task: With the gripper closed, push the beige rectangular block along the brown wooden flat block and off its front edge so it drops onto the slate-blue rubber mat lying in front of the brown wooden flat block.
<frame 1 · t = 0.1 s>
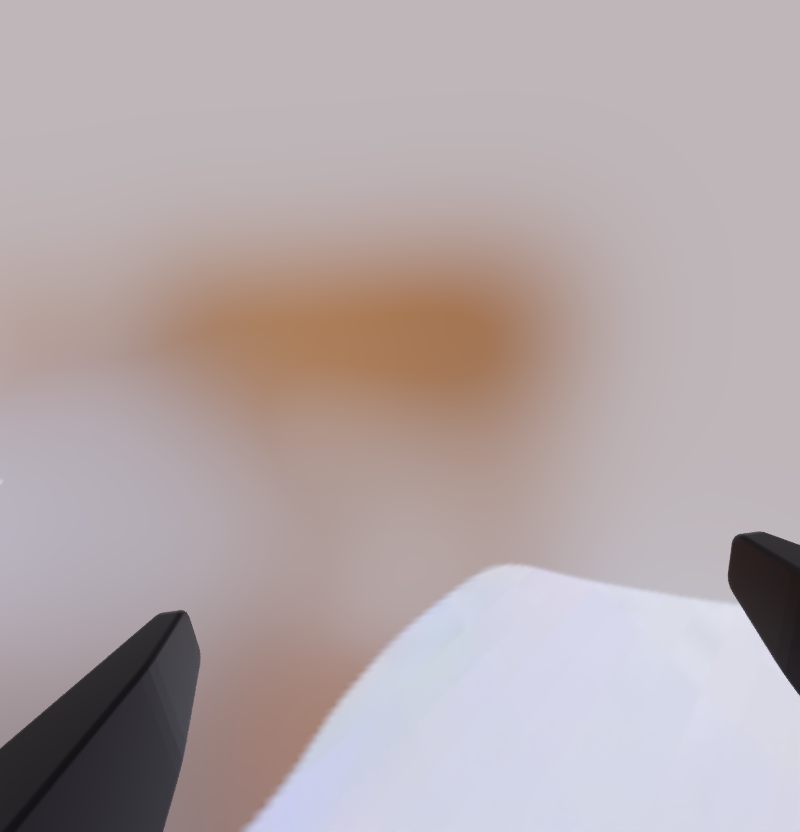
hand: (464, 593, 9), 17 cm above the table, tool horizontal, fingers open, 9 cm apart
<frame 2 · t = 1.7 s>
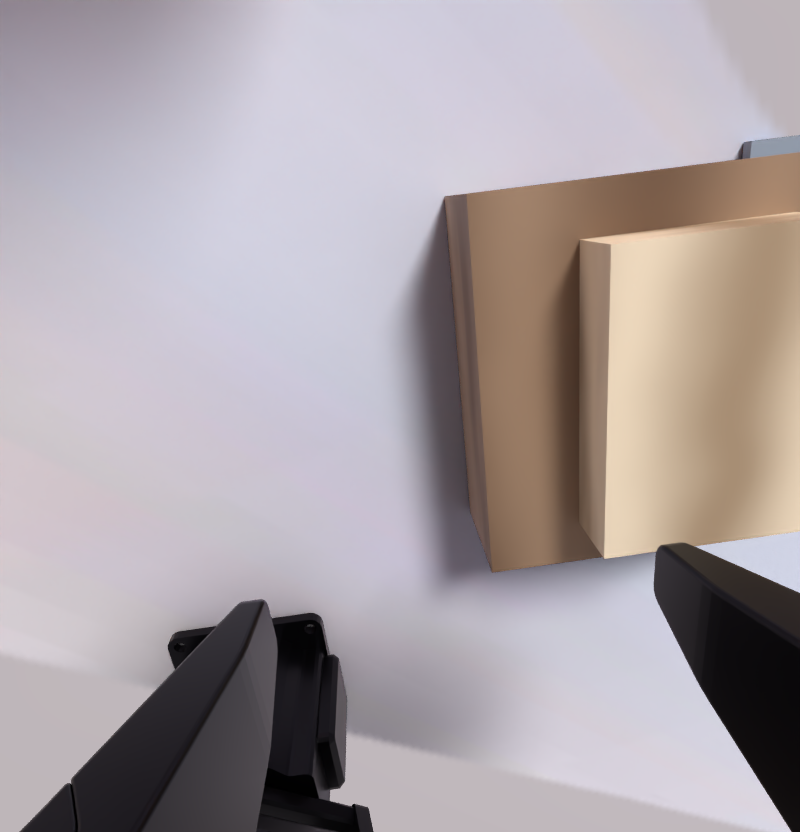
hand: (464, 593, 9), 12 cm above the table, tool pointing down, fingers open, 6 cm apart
brown wooden flat block: (592, 353, 20), on the table
beige rectangular block: (676, 381, 17), point 4 cm above the table, touching brown wooden flat block
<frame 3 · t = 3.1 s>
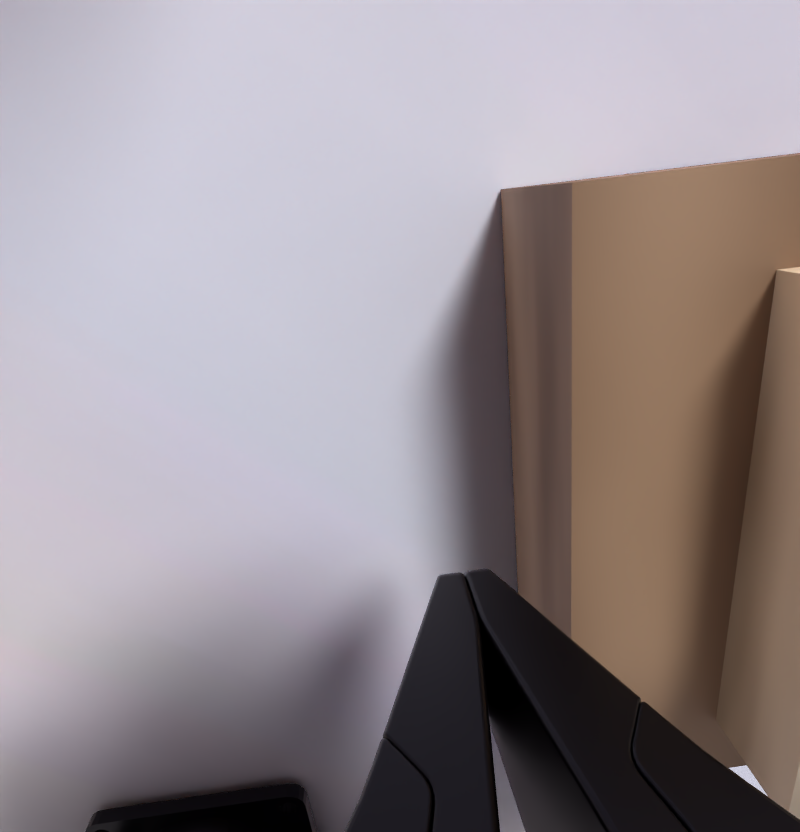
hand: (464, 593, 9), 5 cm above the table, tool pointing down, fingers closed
brown wooden flat block: (715, 430, 13), on the table
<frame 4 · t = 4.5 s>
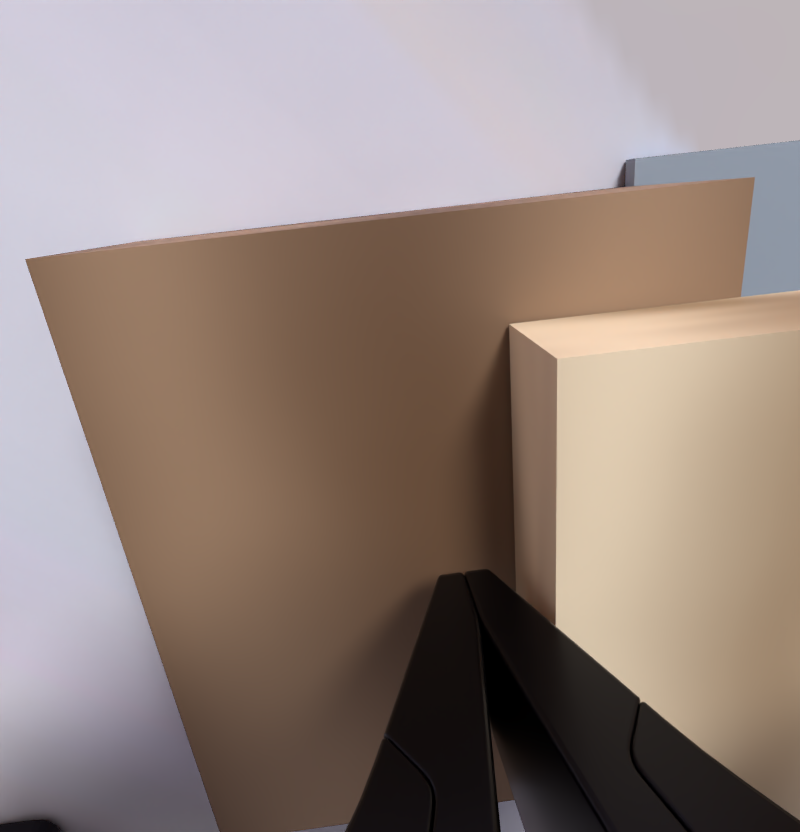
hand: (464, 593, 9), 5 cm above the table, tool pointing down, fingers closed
brown wooden flat block: (412, 475, 13), on the table
beige rectangular block: (680, 554, 10), point 4 cm above the table, touching gripper
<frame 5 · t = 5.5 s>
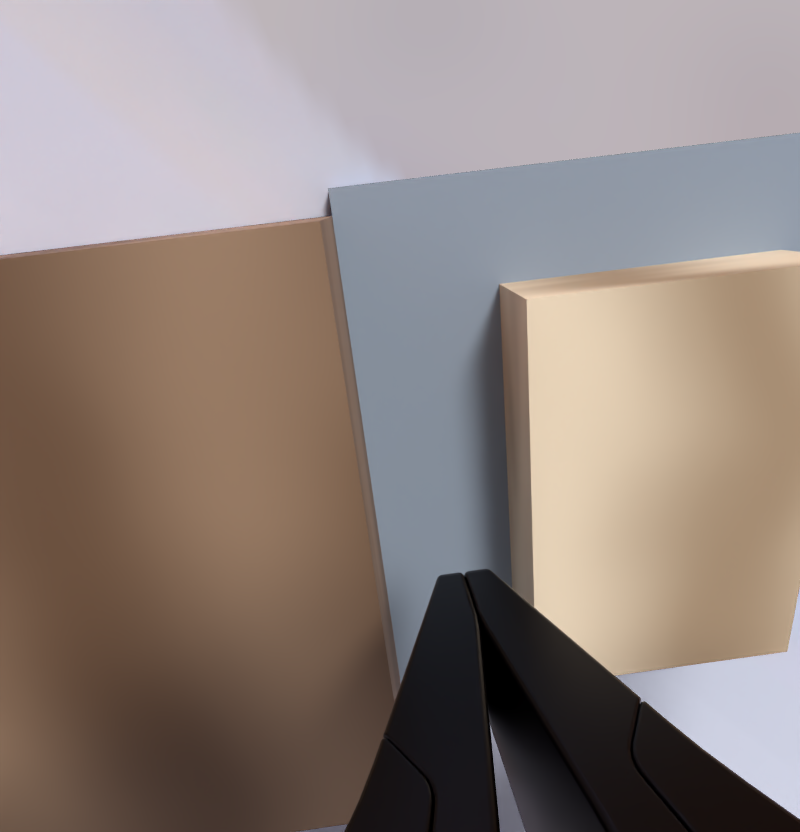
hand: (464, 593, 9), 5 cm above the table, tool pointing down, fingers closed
brown wooden flat block: (163, 505, 13), on the table
mat: (575, 451, 13), on the table
beige rectangular block: (676, 502, 11), point 2 cm above the table, tilted 180°, touching mat
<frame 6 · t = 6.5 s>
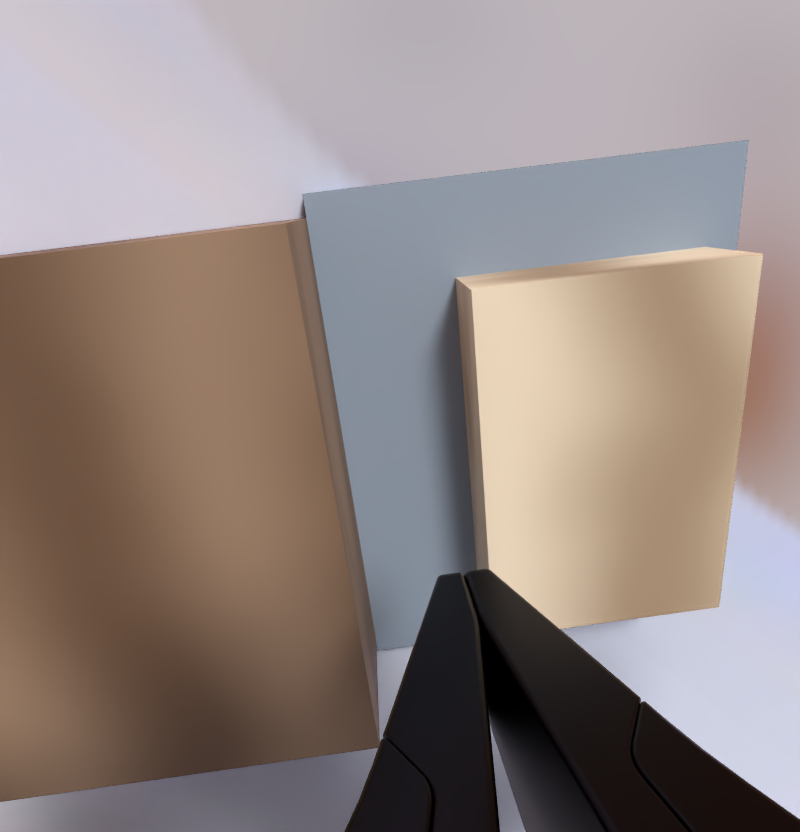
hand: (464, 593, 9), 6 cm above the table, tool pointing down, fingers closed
brown wooden flat block: (160, 477, 15), on the table
mat: (530, 429, 15), on the table
beige rectangular block: (611, 469, 13), point 2 cm above the table, tilted 180°, touching mat
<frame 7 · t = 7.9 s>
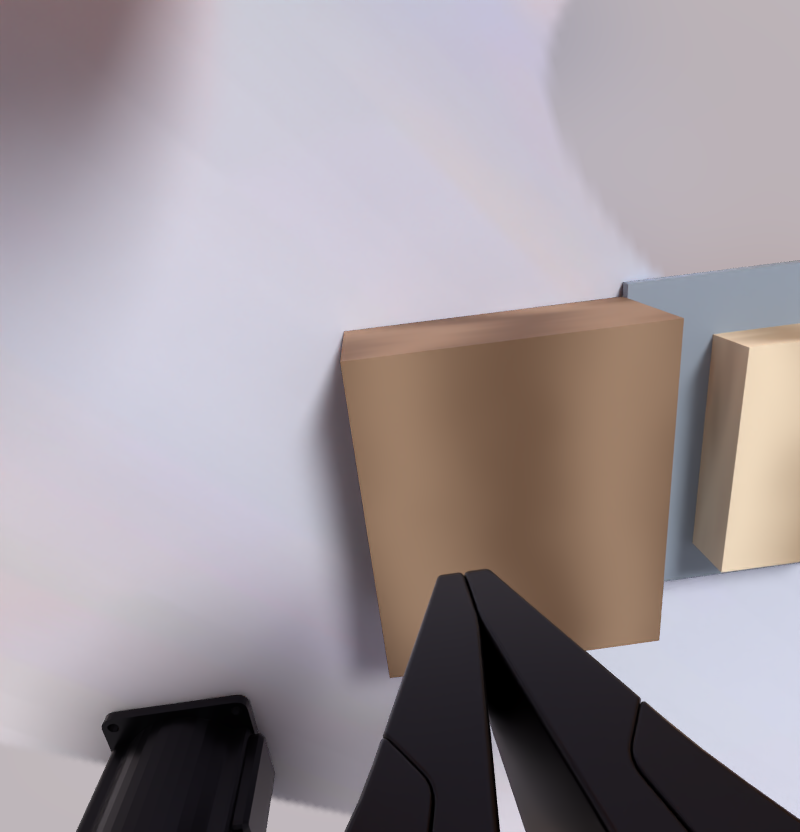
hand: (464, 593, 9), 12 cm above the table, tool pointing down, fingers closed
brown wooden flat block: (492, 464, 22), on the table
mat: (740, 432, 22), on the table
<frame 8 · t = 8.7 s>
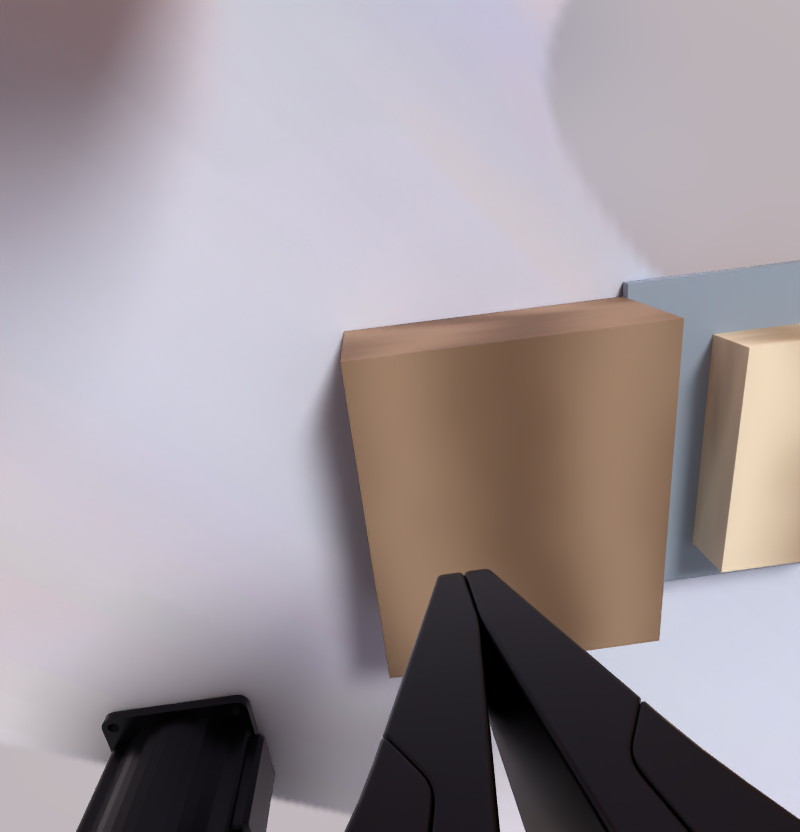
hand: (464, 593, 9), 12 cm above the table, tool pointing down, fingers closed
brown wooden flat block: (492, 464, 22), on the table
mat: (740, 432, 22), on the table
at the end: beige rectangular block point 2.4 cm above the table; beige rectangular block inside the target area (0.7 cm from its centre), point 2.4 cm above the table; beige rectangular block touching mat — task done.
